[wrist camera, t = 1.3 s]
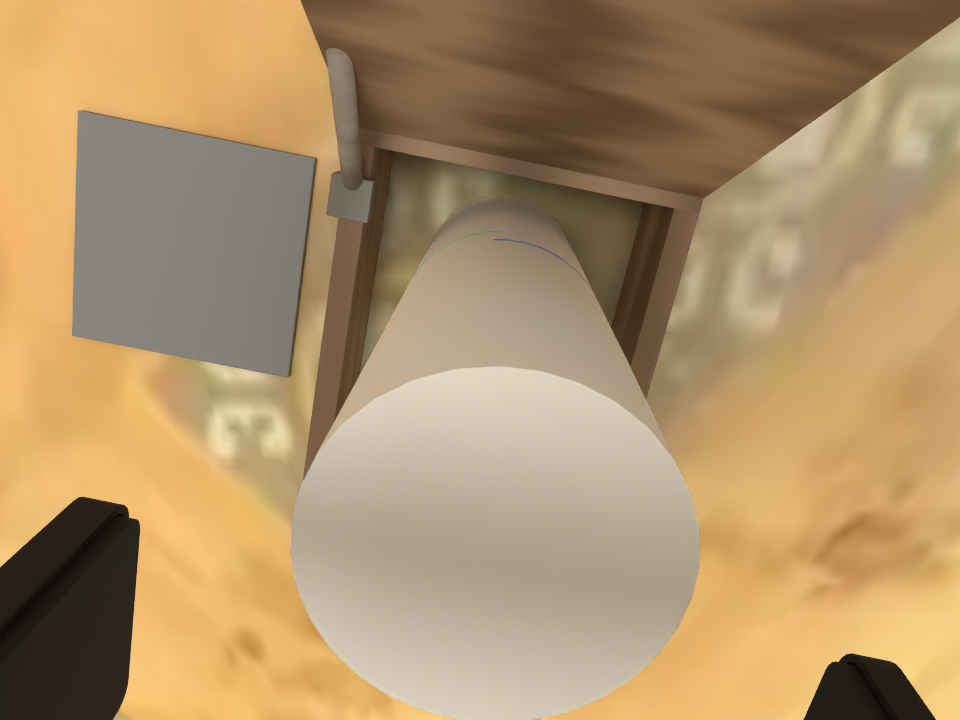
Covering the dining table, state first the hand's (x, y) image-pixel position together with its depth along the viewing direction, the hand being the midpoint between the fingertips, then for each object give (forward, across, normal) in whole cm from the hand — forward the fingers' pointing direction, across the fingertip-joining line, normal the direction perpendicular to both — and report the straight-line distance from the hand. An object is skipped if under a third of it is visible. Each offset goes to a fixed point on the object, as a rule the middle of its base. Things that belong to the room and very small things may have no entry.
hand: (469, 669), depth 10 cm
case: (+28, 0, -1) cm, 28 cm away
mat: (+28, +15, +3) cm, 32 cm away
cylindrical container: (+28, 0, 0) cm, 28 cm away
